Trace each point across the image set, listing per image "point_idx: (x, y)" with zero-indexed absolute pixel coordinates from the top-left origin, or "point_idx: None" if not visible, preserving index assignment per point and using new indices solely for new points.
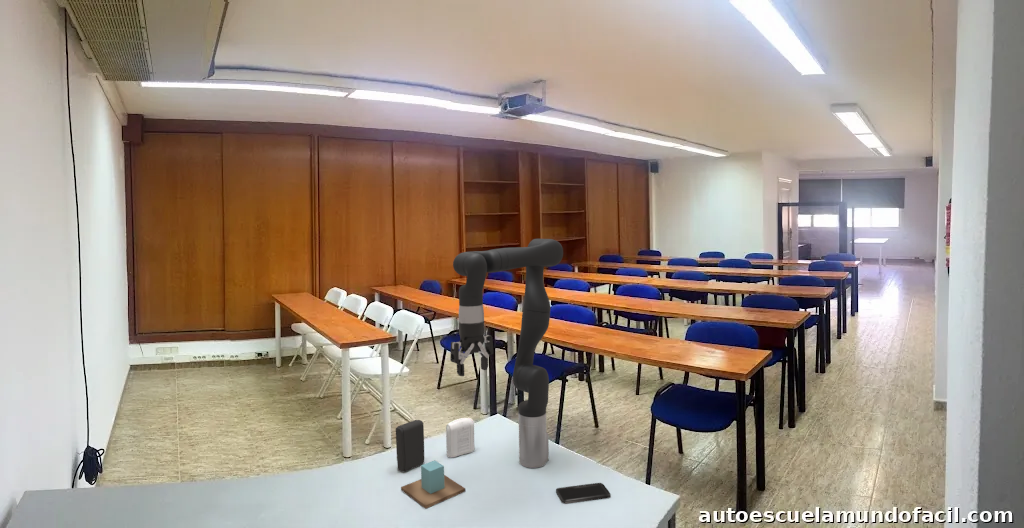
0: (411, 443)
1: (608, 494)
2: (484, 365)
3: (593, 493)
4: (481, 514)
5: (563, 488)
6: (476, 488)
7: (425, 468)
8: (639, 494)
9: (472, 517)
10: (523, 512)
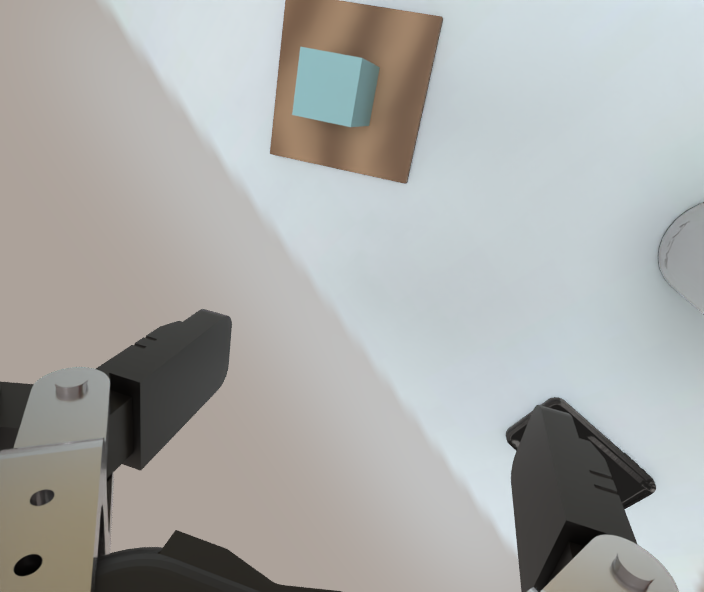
0: None
1: None
2: (518, 501)
3: None
4: (346, 293)
5: (571, 414)
6: (441, 198)
7: (296, 82)
8: None
9: (323, 282)
10: (414, 372)
